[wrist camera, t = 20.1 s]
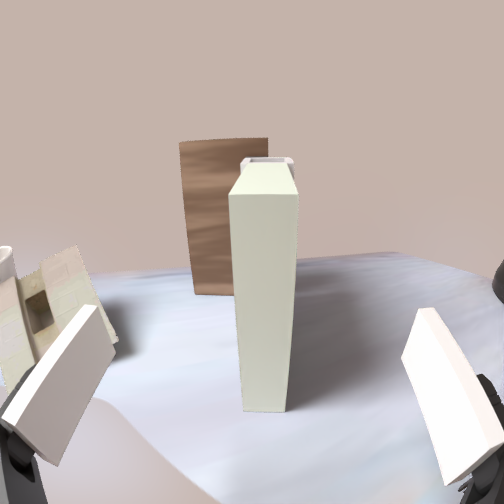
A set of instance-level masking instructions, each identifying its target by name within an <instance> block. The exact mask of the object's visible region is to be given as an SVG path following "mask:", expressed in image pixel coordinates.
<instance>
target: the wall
mask: <svg viewBox="0 0 504 504" xmlns="http://www.w3.org/2000/svg"><path fill="white" fill-rule="evenodd" d="M39 264H40V269H39V270H37V271H35V272H33V273H32V274H30V275H28V276H26V277H23V278H21V279H20V280H17V278H16V277H15V276H12V277H10V278H8V279H7V280H5V281H3V282H1V283H0V367H1V370H2V375H3V378H4V381H5V382H4V384H5V385H6V390H7V394H8V395H10V393H11V392H12V390H13V389H15V386H16V385H17V383H18V382H20V379H21V377H22V376H23V375H24V373H25V372H26V371H27V370H28V369H29V368H31V367H32V366H33V365H34V364H38V363H39V361H40V360H41V359H42V357H43V356H44V355H45V353H46V352H47V351H48V349H49V348H50V347H51V345H52V344H53V343H54V341H55V340H56V339H57V338H58V336H59V335H60V334H61V333H62V331H63V330H64V329H65V328H66V326H67V325H68V324H69V323H70V321H71V320H72V319H73V318H74V316H75V315H76V314H77V313H78V312H79V310H80V309H81V308H82V307H83V306H84V304H85V305H95V306H98V307H99V310H100V313H101V316H102V318H103V321H104V324H105V326H106V329H107V332H108V334H109V337H110V339H111V341H112V344H114V343H115V342H118V341H119V339H118V336H117V337H116V334H115V330H114V329H113V327H112V325H111V323H110V322H109V319H108V317H107V316H106V313H105V311H104V308H103V306H101V302H100V301H99V298H98V295H97V293H96V291H95V289H94V287H93V285H92V283H91V279H90V278H89V276H88V274H87V270H86V268H85V266H84V263H83V261H82V258H81V255H80V254H79V251H78V247H77V246H76V245H75V246H72V247H70V248H68V249H66V250H64V251H61V252H59V253H57V254H56V255H53V256H51V257H49V258H47V259H46V260H44V261H41V262H40V263H39Z"/></svg>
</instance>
